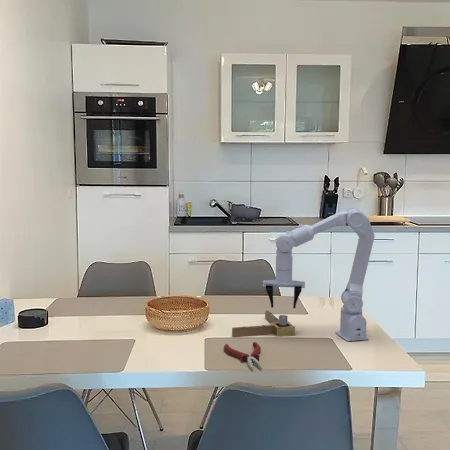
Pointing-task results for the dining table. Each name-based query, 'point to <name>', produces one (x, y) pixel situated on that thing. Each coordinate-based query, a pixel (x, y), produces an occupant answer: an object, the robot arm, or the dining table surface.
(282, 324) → the hinge pin
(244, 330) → the hinge
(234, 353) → the pliers
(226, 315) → the dining table surface
